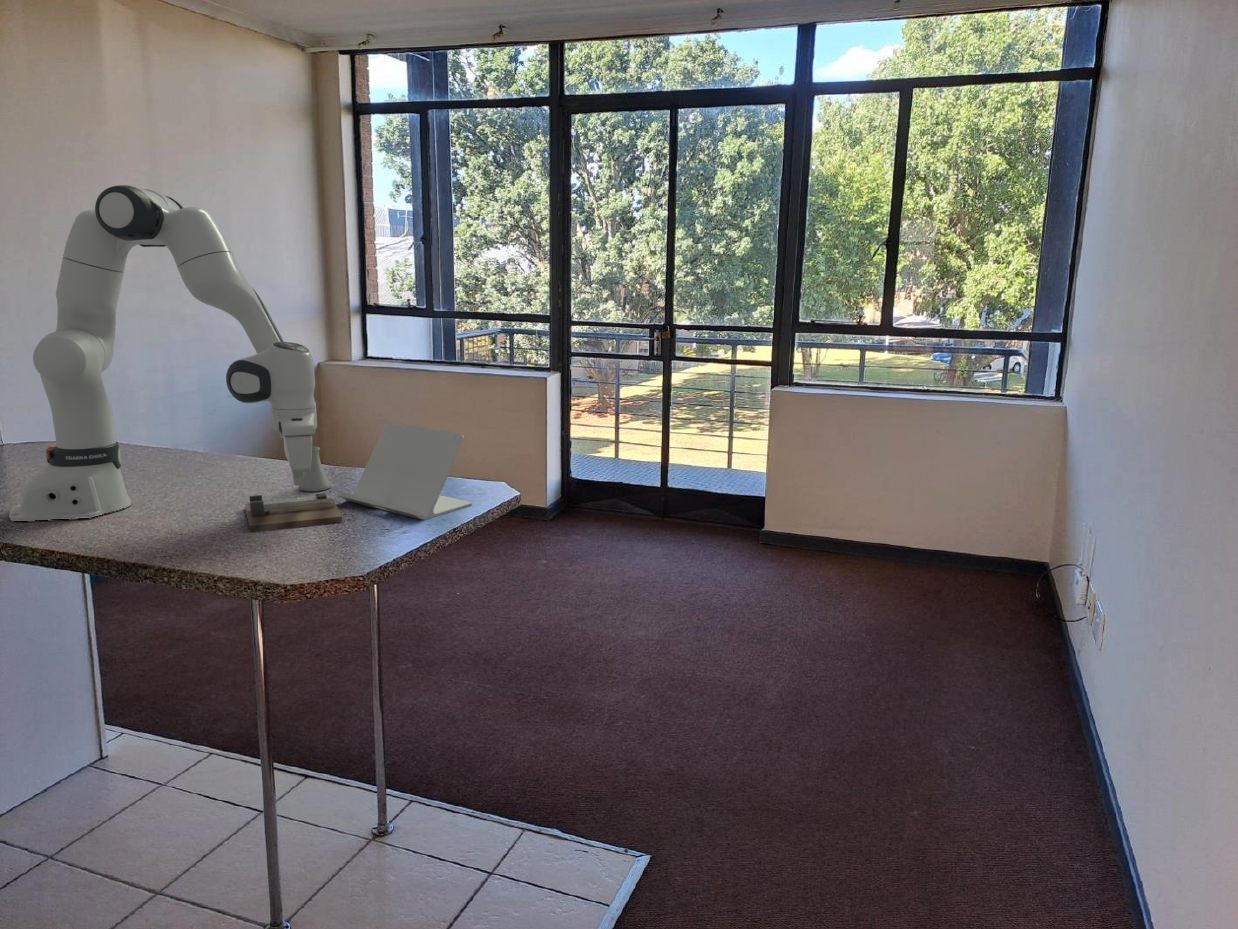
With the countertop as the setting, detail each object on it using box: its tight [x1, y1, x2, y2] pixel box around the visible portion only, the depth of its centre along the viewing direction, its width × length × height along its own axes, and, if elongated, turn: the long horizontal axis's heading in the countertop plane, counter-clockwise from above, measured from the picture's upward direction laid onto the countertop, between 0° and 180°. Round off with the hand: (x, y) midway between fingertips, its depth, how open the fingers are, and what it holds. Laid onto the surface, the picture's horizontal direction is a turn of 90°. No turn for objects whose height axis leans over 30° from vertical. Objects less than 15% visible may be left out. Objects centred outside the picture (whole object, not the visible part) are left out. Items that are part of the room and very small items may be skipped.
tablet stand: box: [337, 421, 473, 521], centre depth 197 cm, size 18×25×17 cm
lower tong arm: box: [249, 494, 333, 517], centre depth 188 cm, size 16×6×3 cm, turn 115°
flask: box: [298, 446, 332, 493], centre depth 210 cm, size 7×7×10 cm
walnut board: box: [244, 496, 343, 532], centre depth 189 cm, size 18×18×1 cm
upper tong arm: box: [252, 492, 333, 509], centre depth 188 cm, size 16×4×2 cm, turn 115°
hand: (298, 483), depth 188 cm, fingers closed
